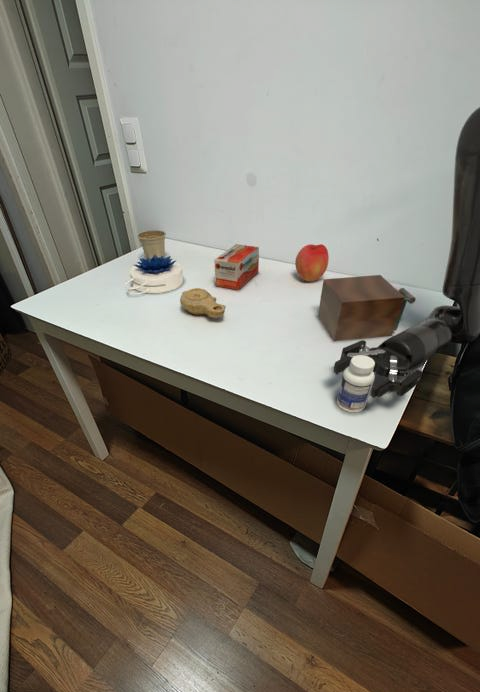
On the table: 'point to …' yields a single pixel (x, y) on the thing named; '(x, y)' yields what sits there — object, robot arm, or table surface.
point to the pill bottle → (356, 384)
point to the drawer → (409, 299)
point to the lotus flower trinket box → (155, 275)
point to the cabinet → (359, 307)
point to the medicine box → (236, 266)
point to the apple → (312, 262)
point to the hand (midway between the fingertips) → (353, 380)
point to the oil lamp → (201, 303)
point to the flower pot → (153, 243)
